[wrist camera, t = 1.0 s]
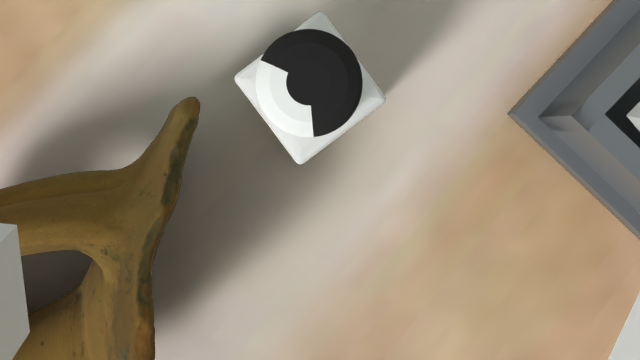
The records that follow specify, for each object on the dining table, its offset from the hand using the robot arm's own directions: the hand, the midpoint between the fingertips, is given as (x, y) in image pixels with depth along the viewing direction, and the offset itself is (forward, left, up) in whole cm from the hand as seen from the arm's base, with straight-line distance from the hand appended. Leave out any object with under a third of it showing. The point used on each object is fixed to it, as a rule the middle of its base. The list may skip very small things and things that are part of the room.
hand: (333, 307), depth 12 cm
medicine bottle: (+5, -4, -32) cm, 32 cm away
